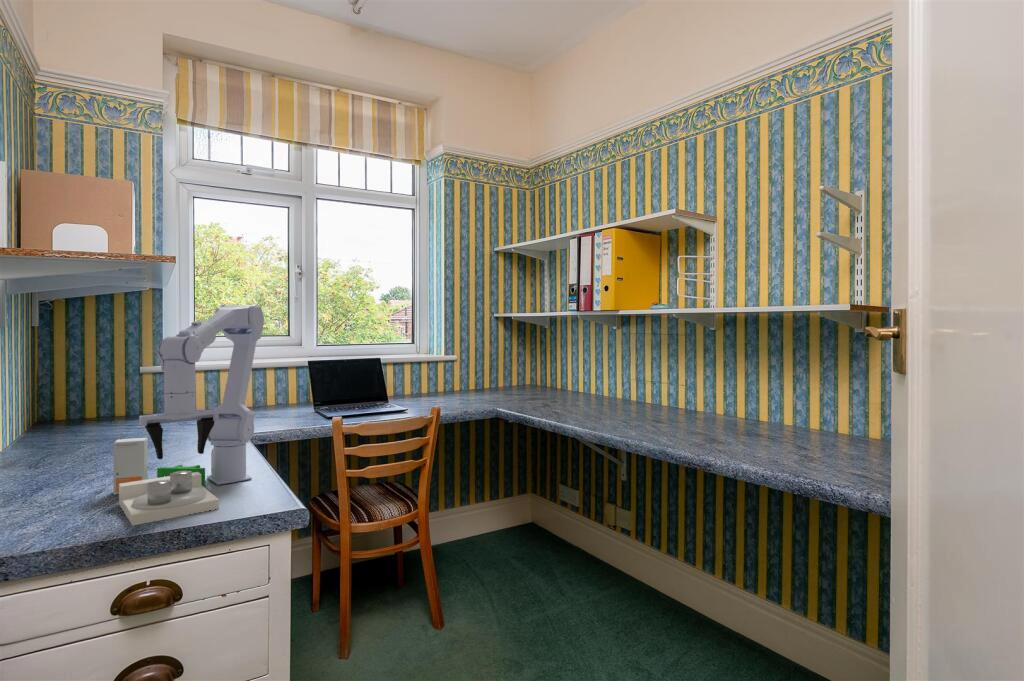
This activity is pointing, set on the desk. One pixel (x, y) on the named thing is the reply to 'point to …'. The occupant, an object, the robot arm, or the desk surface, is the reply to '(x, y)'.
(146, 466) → the skincare box
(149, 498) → the cylinder
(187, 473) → the cylinder
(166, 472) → the pipe clamp
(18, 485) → the desk surface
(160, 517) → the scale
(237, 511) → the desk surface
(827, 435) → the desk surface
